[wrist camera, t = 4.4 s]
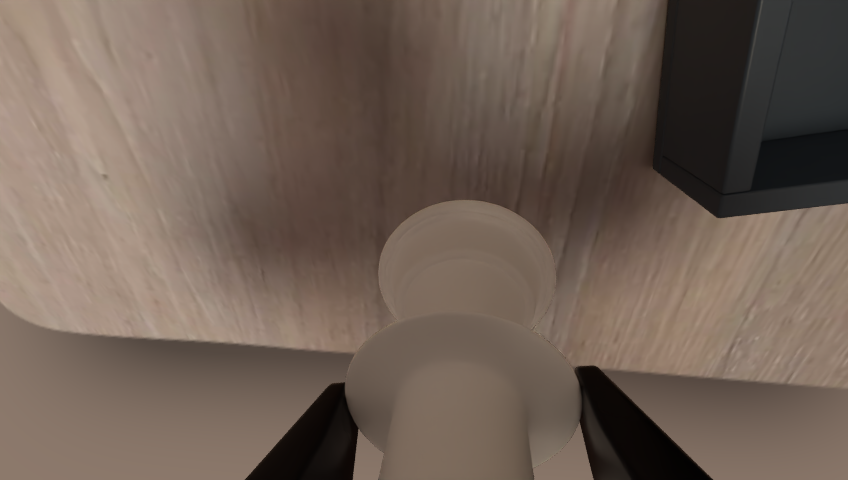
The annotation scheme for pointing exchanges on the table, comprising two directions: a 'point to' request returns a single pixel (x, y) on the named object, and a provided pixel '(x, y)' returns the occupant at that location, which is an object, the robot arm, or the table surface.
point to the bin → (755, 104)
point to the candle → (464, 351)
